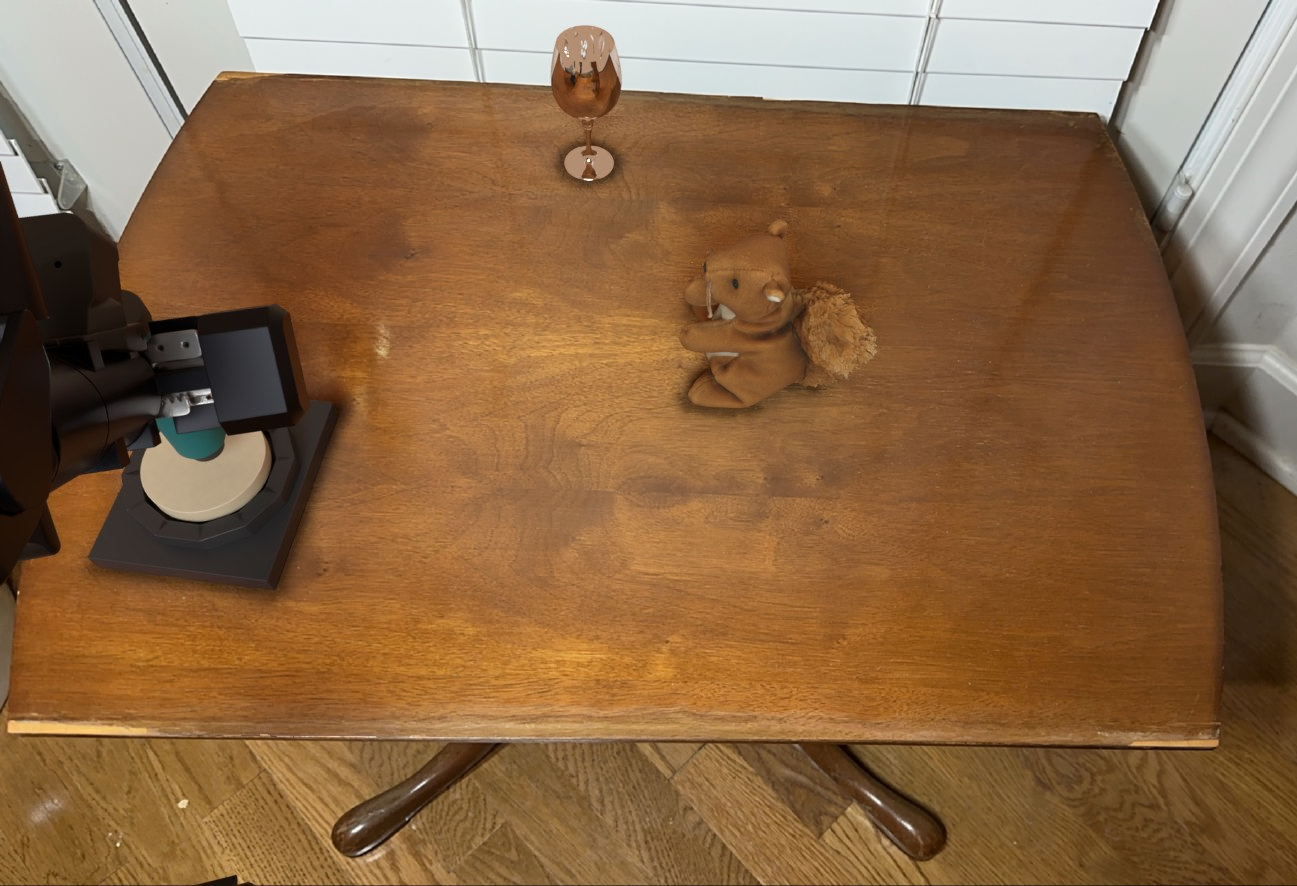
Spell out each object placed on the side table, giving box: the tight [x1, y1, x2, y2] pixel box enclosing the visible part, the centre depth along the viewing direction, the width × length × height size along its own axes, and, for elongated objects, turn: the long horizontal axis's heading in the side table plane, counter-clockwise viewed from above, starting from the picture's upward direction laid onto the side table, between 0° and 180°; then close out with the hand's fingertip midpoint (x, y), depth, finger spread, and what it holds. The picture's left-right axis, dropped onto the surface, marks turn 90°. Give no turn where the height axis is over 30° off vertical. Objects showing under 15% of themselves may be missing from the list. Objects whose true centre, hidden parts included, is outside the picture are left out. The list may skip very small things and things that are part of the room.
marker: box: [121, 288, 226, 462], centre depth 54 cm, size 3×3×14 cm
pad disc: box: [140, 431, 272, 522], centre depth 61 cm, size 8×8×1 cm
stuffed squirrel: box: [679, 218, 878, 409], centre depth 65 cm, size 10×14×13 cm
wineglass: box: [550, 24, 623, 182], centre depth 77 cm, size 6×6×12 cm
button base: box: [87, 399, 339, 591], centre depth 63 cm, size 14×12×3 cm
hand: (162, 365), depth 54 cm, fingers closed on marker, 3 cm apart
